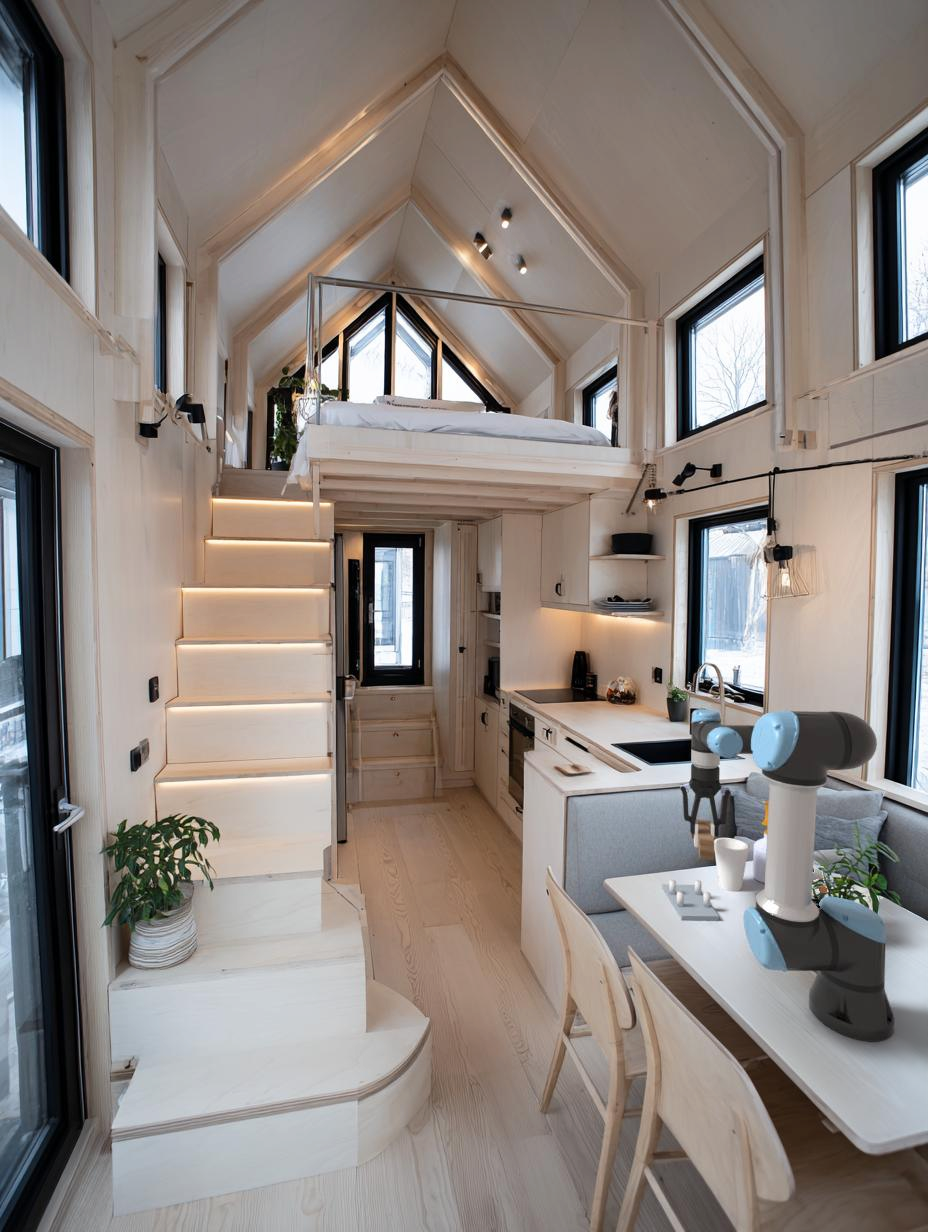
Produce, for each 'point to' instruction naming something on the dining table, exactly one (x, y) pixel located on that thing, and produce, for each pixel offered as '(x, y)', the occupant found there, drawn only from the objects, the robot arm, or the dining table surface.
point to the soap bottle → (761, 852)
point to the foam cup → (730, 862)
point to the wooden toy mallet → (705, 840)
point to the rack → (690, 901)
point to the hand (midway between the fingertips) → (704, 846)
